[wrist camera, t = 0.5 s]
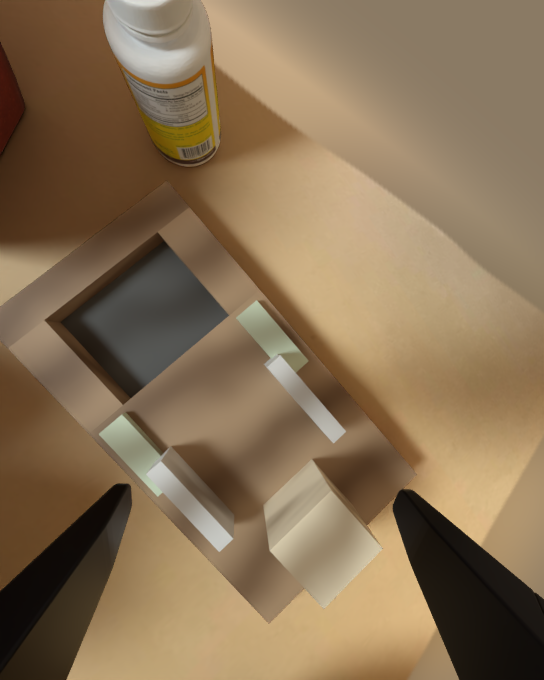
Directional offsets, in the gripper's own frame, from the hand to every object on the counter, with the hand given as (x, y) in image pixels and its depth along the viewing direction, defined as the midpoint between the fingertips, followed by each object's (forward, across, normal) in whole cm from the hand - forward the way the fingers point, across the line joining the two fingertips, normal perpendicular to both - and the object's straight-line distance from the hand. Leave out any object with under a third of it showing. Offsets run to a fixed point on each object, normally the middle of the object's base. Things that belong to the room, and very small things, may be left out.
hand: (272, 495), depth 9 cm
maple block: (+8, -5, +11) cm, 14 cm away
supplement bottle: (+21, +7, -14) cm, 26 cm away
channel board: (+13, +2, +5) cm, 14 cm away
